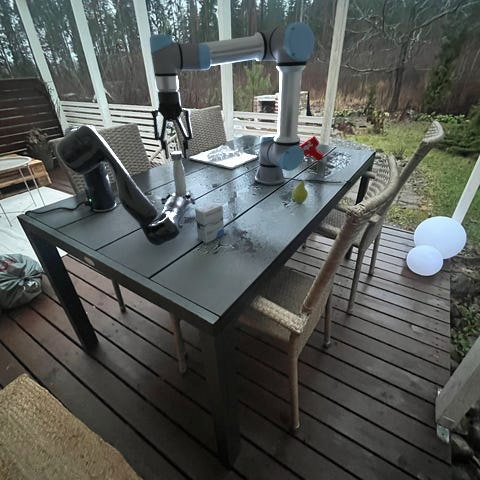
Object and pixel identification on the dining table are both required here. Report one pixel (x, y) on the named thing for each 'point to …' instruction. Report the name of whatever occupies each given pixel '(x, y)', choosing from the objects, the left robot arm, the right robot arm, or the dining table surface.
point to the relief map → (224, 157)
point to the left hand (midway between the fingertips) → (182, 191)
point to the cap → (176, 155)
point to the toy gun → (311, 148)
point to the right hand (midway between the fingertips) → (176, 157)
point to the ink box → (209, 221)
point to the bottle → (179, 178)
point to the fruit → (300, 192)
